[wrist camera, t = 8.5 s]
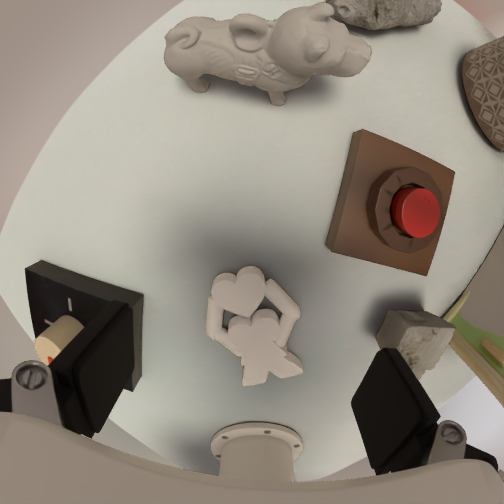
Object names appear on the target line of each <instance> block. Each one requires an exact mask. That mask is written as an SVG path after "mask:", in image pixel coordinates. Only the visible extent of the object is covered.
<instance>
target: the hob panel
mask: <svg viewBox="0 0 504 504" xmlns="http://www.w3.org/2000/svg"><path fill="white" fill-rule="evenodd" d="M25 275H26V285H27V293H28V300H29V307H30V313H31V319H32V324H33V329H34V334H35V338H37V337H38V336H39V335H40V334H41V333H43V332H44V331H45V330H46V329H47V328H48V327H50V326H51V325H52V324H53V323H54V322H55V321H57V320H58V319H59V318H60V317H61V316H64V315H68V316H72V317H74V318H75V319H77V320H78V321H79V322H80V323H81V324H82V325H83V326H84V327H85V326H86V325H87V324H88V323H89V322H90V321H91V320H92V319H93V318H94V317H95V316H96V315H97V314H98V313H99V312H100V311H102V310H103V309H104V308H105V307H106V306H107V305H108V304H109V303H110V302H111V301H112V300H113V299H116V300H120V301H123V302H127V303H128V304H129V307H130V308H132V309H133V332H134V355H135V367H134V371H133V373H132V374H131V376H130V378H129V380H128V381H127V383H126V385H125V387H124V389H126V390H129V391H131V392H133V391H134V389H135V387H136V385H137V383H138V381H139V379H140V378H141V342H142V313H143V296H144V295H143V294H140V293H137V292H133V291H130V290H127V289H124V288H120V287H117V286H114V285H111V284H107V283H104V282H101V281H98V280H95V279H92V278H89V277H86V276H83V275H80V274H77V273H74V272H72V271H69V270H66V269H63V268H60V267H58V266H55V265H52V264H50V263H47V262H44V261H42V260H41V261H39V262H37V263H35V264H33V265H31V266H29V267H27V268H25Z"/></svg>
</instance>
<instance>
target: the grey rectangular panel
mask: <svg viewBox="0 0 504 504" xmlns="http://www.w3.org/2000/svg"><path fill="white" fill-rule="evenodd" d="M467 290H469V291H470V294H469V296H468V298H467V299H466V301H465V302H464V304H463V305H462V306H461V308H460V309H459V311H458V312H459V314H460V316H461V317H462V318H463V319H464V320H466V321H467V322H468V323H470V324H471V325H473V326H474V327H476V328H479V329H481V330H484V331H487V332H492V333H495V334H497V335H500V336H503V337H504V227H503V229H502V231H501V233H500V235H499V237H498V238H497V240H496V242H495V244H494V246H493V247H492V249H491V251H490V252H489V254H488V256H487V257H486V259H485V261H484V262H483V264H482V265H481V267H480V269H479V270H478V272H477V273H476V275H475V276H474V278H473V279H472V281H471V282H470V284H469V285H468V286H467V288H466V289H465V291H464V292H463V294H464V293H465V292H466V291H467ZM463 294H462V295H463Z"/></svg>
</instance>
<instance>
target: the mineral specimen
mask: <svg viewBox="0 0 504 504" xmlns="http://www.w3.org/2000/svg"><path fill="white" fill-rule="evenodd" d="M455 329H456V327H455V325H453V324H451V323H449V322H447V321H446V320H444V319H441V318H440V317H438V316H436V315H433V314H431V313H429V312H427V311H419V312H417V311H404V310H403V311H401V310H388V312H387V314H386V316H385V319H384V321H383V323H382V325H381V328H380V330H379V331H378V333H377V335H376V340H377V342H378V344H379V347H380V349H382V348H384V347H386V348H397V349H398V351H399V352H400V354H401V355H402V356H403V358H404V359H405V361H406V362H407V364H408V365H409V367H410V368H411V370H412V371H413V373H414V374H415V376H416V378H417V379H418V380H419V379H420V378H421V376H422V375H423V374H424V373H425V371H426V370H431V369H433V368H434V367H435V365H436V364H437V362H438V361H439V359H440V358H441V356H442V354H443V352H444V350H445V349H446V347H447V345H448V343H449V342H450V340H451V338H452V336H453V332H454V330H455Z"/></svg>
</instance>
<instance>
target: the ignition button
mask: <svg viewBox="0 0 504 504" xmlns="http://www.w3.org/2000/svg"><path fill="white" fill-rule="evenodd" d="M391 214H392V219H393V222H394V224H395V225H396V227H397V228H398V229H399V230H400V231H402V232H404V233H406V234H409V235H411V236H413V237H416V238H423V237H426V236H428V235H429V234H431V233H432V232H433V231H434V229H435V228H436V226H437V224H438V221H439V215H440V210H439V204H438V201H437V199H436V197H435V196H434V195H433V194H432V193H431V192H430V191H429V190H427V189H423V188H416V187H406V188H404V189H402V190H400V191H399V192H398V193H397V194H396V196H395V198H394V200H393V202H392V207H391Z"/></svg>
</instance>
